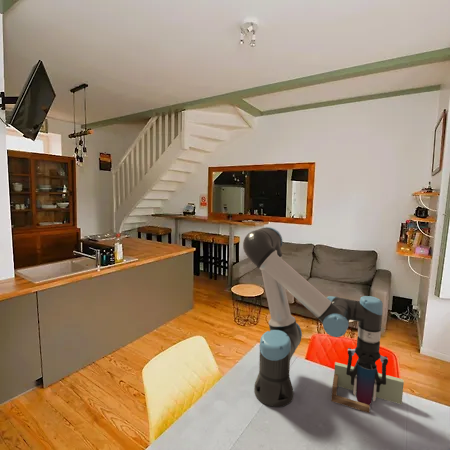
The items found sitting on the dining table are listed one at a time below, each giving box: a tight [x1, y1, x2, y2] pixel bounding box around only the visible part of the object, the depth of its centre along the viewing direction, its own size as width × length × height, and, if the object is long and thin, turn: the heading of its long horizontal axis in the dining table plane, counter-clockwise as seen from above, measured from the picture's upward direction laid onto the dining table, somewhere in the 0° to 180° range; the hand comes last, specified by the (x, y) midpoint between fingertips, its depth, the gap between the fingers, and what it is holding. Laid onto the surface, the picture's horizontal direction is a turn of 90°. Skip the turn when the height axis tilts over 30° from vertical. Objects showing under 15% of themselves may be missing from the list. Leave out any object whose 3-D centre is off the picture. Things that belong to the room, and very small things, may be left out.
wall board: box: [333, 361, 405, 405], centre depth 111 cm, size 24×2×9 cm, turn 64°
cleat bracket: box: [330, 373, 371, 414], centre depth 109 cm, size 13×10×5 cm
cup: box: [356, 359, 378, 406], centre depth 107 cm, size 7×7×15 cm
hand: (364, 395), depth 108 cm, fingers closed on cup, 6 cm apart
